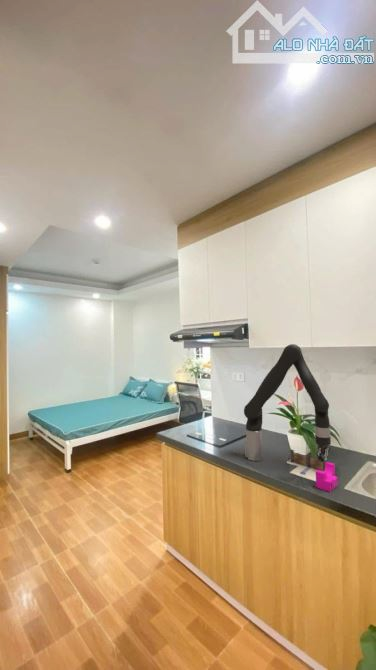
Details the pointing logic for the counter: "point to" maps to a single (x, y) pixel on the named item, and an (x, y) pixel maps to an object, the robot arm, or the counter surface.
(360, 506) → the counter surface
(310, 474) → the card
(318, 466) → the fence panel
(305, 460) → the fence fixed
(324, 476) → the toy block
